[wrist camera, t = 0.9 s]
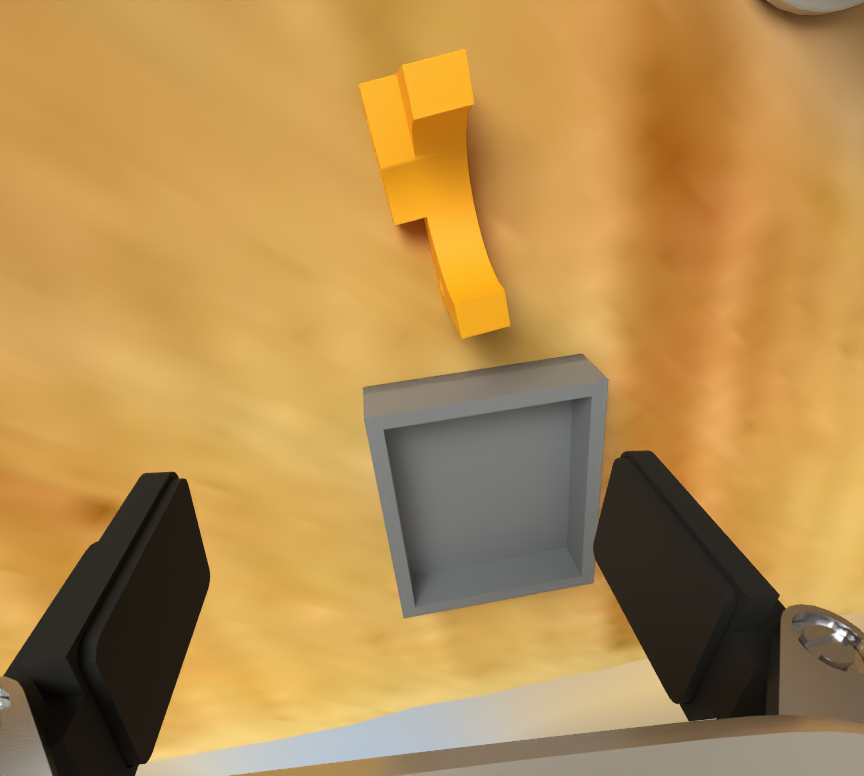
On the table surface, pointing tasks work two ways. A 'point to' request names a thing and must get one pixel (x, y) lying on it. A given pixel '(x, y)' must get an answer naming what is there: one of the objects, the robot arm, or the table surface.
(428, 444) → the tray
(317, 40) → the table surface
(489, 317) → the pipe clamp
